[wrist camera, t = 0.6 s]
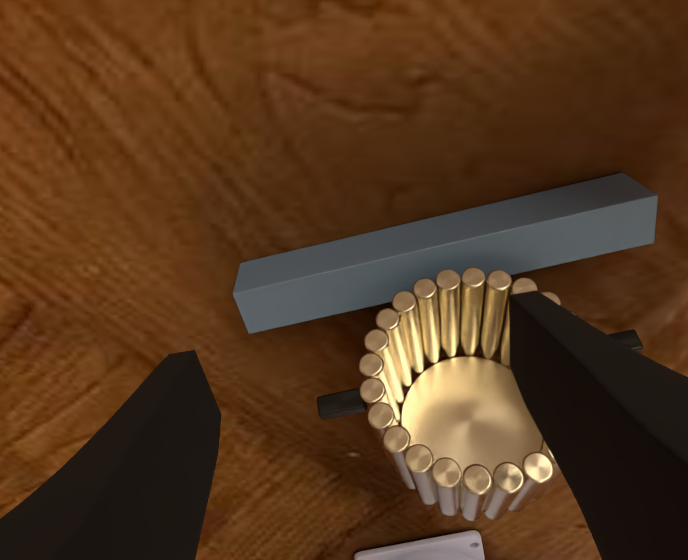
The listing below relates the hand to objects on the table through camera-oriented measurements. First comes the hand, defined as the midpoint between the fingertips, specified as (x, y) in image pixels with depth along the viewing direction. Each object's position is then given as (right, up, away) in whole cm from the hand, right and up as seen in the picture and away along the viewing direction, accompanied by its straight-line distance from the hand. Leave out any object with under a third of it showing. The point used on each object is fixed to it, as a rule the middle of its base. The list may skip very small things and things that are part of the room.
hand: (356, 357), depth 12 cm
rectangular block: (+3, +3, +10) cm, 11 cm away
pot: (+4, 0, +12) cm, 13 cm away
